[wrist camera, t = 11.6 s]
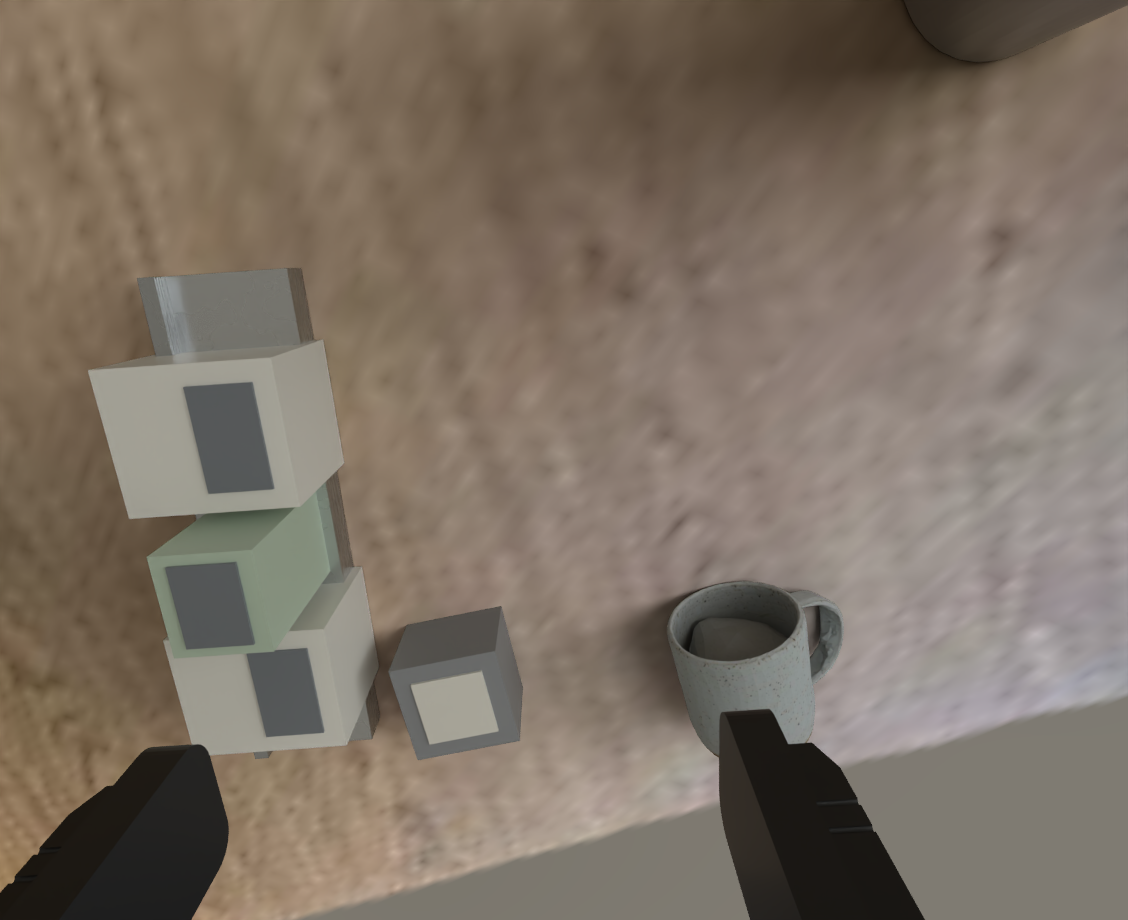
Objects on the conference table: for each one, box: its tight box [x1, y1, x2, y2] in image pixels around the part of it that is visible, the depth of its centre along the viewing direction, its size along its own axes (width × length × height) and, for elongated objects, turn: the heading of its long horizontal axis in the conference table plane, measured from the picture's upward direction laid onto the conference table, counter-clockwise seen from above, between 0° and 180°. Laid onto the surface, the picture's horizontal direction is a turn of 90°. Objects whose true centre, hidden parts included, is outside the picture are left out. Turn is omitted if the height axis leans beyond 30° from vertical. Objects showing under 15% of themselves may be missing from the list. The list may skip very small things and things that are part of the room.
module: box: [147, 492, 330, 659], centre depth 32 cm, size 4×5×8 cm
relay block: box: [389, 606, 523, 760], centre depth 39 cm, size 6×6×5 cm
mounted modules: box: [88, 340, 379, 755], centre depth 35 cm, size 8×20×7 cm, turn 4°
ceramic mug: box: [667, 581, 844, 757], centre depth 38 cm, size 11×8×8 cm
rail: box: [137, 268, 380, 759], centre depth 37 cm, size 7×28×3 cm, turn 4°
